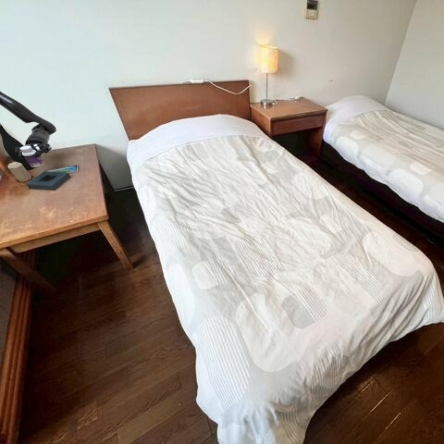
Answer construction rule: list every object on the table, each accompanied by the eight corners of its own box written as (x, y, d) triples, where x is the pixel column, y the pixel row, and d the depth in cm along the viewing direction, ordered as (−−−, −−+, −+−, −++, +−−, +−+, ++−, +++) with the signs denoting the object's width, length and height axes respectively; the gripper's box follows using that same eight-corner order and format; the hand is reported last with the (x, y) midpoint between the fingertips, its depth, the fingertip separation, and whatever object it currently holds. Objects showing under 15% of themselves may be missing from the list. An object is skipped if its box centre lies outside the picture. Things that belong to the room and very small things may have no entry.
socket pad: (29, 188, 131) (25, 184, 129) (47, 175, 140) (44, 171, 138) (55, 190, 132) (51, 185, 130) (71, 177, 141) (68, 172, 139)
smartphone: (46, 170, 143) (77, 165, 150) (46, 171, 144) (78, 166, 150) (44, 176, 139) (77, 170, 145) (45, 177, 139) (78, 171, 146)
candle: (26, 175, 139) (13, 159, 132) (34, 177, 138) (22, 161, 131) (15, 180, 135) (2, 164, 128) (24, 182, 134) (11, 166, 127)
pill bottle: (45, 165, 128) (33, 148, 121) (32, 168, 125) (18, 151, 118) (43, 161, 130) (31, 144, 124) (30, 164, 128) (17, 146, 121)
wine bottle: (32, 162, 149) (-5, 111, 128) (41, 166, 147) (4, 114, 126) (16, 168, 143) (-25, 115, 123) (25, 172, 141) (-16, 119, 121)
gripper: (15, 136, 127) (4, 151, 117) (50, 133, 133) (42, 148, 122) (24, 150, 133) (15, 165, 122) (58, 146, 138) (51, 161, 127)
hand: (29, 156), depth 122 cm, fingers closed on pill bottle, 5 cm apart
